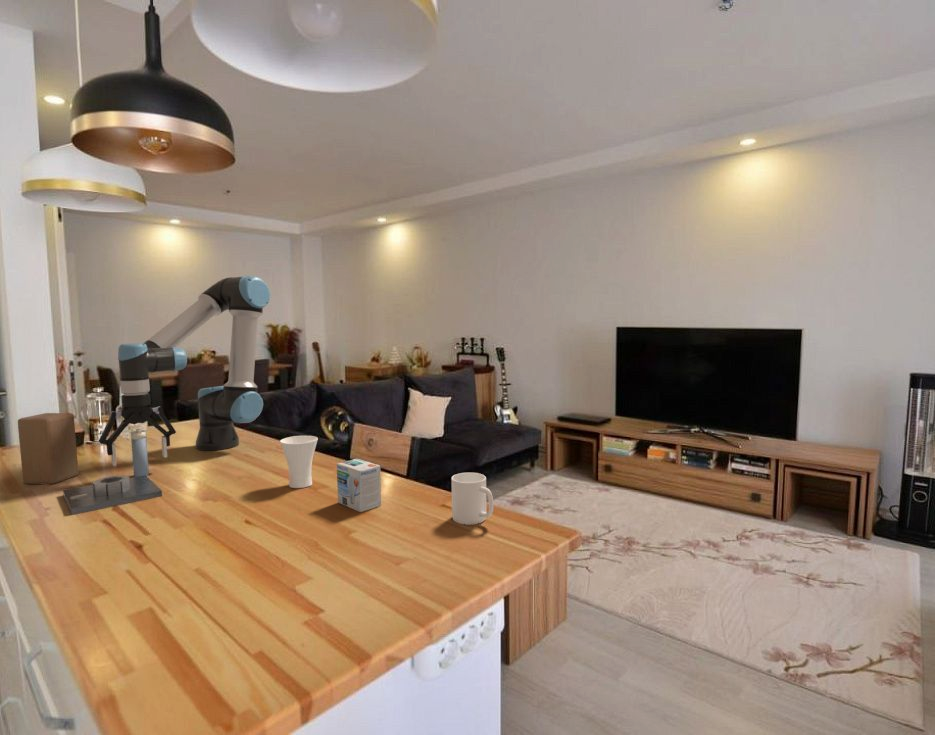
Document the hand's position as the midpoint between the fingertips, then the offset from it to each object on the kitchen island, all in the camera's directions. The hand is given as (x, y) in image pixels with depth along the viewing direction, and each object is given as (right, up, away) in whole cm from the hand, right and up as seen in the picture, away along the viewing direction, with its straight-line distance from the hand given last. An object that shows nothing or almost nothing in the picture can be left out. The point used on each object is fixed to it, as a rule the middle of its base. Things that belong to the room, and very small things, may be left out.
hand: (140, 461), depth 163 cm
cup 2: (+104, -8, -38) cm, 111 cm away
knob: (0, -5, 0) cm, 5 cm away
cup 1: (+53, -5, -10) cm, 55 cm away
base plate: (+4, -6, -18) cm, 19 cm away
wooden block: (-26, -6, -3) cm, 26 cm away
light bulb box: (+74, -7, -27) cm, 79 cm away
